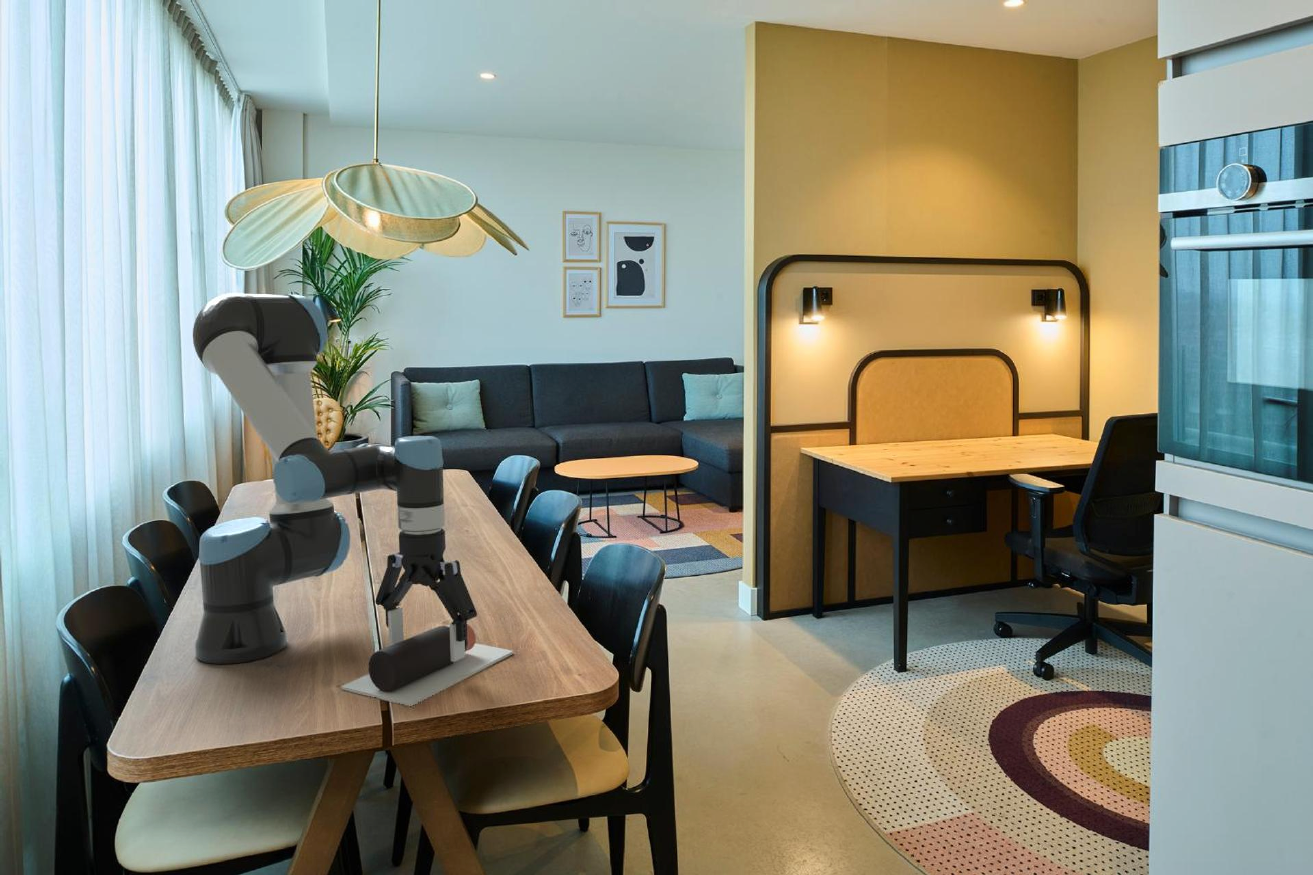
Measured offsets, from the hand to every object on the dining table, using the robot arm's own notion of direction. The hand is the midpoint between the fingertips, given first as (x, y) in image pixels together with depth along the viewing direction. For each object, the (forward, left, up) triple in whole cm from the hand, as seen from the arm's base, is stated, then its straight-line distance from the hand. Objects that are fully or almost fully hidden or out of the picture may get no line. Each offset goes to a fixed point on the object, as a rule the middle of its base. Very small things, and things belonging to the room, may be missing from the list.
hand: (426, 652), depth 156 cm
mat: (0, +1, -3) cm, 4 cm away
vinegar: (0, -11, 0) cm, 11 cm away
